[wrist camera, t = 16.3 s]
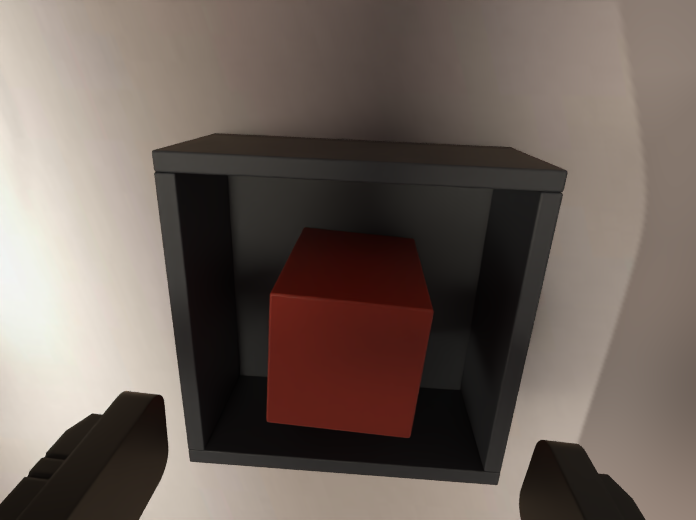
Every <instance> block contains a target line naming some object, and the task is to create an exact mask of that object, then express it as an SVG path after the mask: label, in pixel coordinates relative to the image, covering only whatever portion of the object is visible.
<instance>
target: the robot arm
mask: <svg viewBox="0 0 696 520" xmlns="http://www.w3.org/2000/svg"><path fill="white" fill-rule="evenodd" d="M167 458H168V438H167V427H166V416H165V405H164V399H163V397H162V396H161V395H156V394H147V393H139V392H130V391H124V392H122V393H121V394H120V395H119V396H118V397H117V398H116V399H115V400H114V402H113V403H112V404H111V405H110V407H109V408H108V409H107V410H106V411H105V413H104V414H103V415H100V414H91V415H89V416H88V417H86V418H85V419H83V420H82V421H80V422H79V423H77V424H76V425H74V426H73V427H71V428H70V429H68V430H67V431H65V432H64V434H63V435H62V436H61V437H60V438H59V439H58V440H57V441H56V443H55V444H54V445H53V446H52V447H51V448H50V449H49V450H48V451H47V453H46V456H45V457H44V458H41V459H40V460H39V461H38V463H37V464H36V465H35V466H34V467H33V468H32V469H31V470H30V472H29V475H28V477H24V478H23V479H22V480H21V482H20V483H19V484H18V485H17V486H16V487H15V488H14V489H13V490H12V492H11V493H10V494H9V495H8V496H7V497H6V498H5V499H4V501H3V502H2V503H1V504H0V520H139V518H140V517H141V515H142V513H143V511H144V509H145V507H146V506H147V504H148V502H149V500H150V498H151V496H152V495H153V493H154V491H155V489H156V487H157V486H158V484H159V482H160V480H161V478H162V475H163V473H164V470H165V467H166V463H167ZM519 509H520V517H521V520H645V518H644V517H643V515H642V513H641V512H640V510H639V508H638V507H637V505H636V504H635V502H634V500H633V499H632V498H631V497H630V496H629V495H628V494H627V493H626V492H625V491H624V490H623V489H622V488H621V487H620V486H619V485H618V484H617V483H616V482H615V481H614V480H613V479H612V478H611V477H610V476H609V475H607V474H598V473H597V471H596V469H595V467H594V466H593V464H592V462H591V460H590V459H589V457H588V455H587V453H586V452H585V450H584V449H583V448H582V446H580V445H579V444H574V443H565V442H556V441H547V440H540V441H539V442H538V443H537V444H536V446H535V449H534V452H533V455H532V458H531V461H530V464H529V467H528V470H527V473H526V476H525V479H524V482H523V485H522V488H521V491H520V498H519Z"/></svg>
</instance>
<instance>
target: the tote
mask: <svg viewBox="0 0 696 520" xmlns="http://www.w3.org/2000/svg"><path fill="white" fill-rule="evenodd" d="M152 156H153V164H154V170H155V171H156V172H155V173H154V175H155V183H156V192H157V200H158V208H159V216H160V224H161V232H162V240H163V248H164V256H165V264H166V272H167V280H168V288H169V296H170V304H171V312H172V320H173V328H174V336H175V344H176V352H177V360H178V368H179V376H180V384H181V392H182V400H183V408H184V417H185V425H186V433H187V441H188V448H189V457H190V461H191V462H202V463H215V464H228V465H241V466H254V467H267V468H280V469H294V470H307V471H320V472H333V473H346V474H359V475H372V476H385V477H398V478H411V479H425V480H438V481H451V482H464V483H477V484H490V485H498V481H499V476H500V471H501V467H502V462H503V458H504V453H505V449H506V445H507V440H508V436H509V431H510V427H511V422H512V418H513V413H514V409H515V405H516V400H517V396H518V391H519V387H520V382H521V378H522V373H523V369H524V365H525V360H526V356H527V351H528V347H529V342H530V338H531V334H532V329H533V325H534V320H535V316H536V311H537V307H538V302H539V298H540V294H541V289H542V285H543V280H544V276H545V271H546V267H547V262H548V258H549V254H550V249H551V245H552V240H553V236H554V231H555V227H556V222H557V218H558V214H559V209H560V205H561V200H562V196H563V194H562V193H561V192H563V190H564V186H565V182H566V178H567V171H566V170H564V169H562V168H559V167H557V166H555V165H552V164H550V163H547V162H545V161H543V160H540V159H538V158H535V157H533V156H531V155H528V154H526V153H523V152H521V151H519V150H516V149H514V148H512V147H493V146H472V145H450V144H429V143H408V142H386V141H365V140H344V139H323V138H301V137H280V136H259V135H238V134H216V133H215V134H211V135H208V136H204V137H200V138H197V139H193V140H189V141H186V142H182V143H178V144H175V145H171V146H167V147H164V148H160V149H156V150H153V151H152ZM305 227H306V228H316V229H325V230H335V231H344V232H354V233H363V234H373V235H382V236H392V237H401V238H411V239H414V240H415V244H416V248H417V252H418V255H419V259H420V263H421V266H422V270H423V274H424V278H425V281H426V285H427V289H428V293H429V296H430V300H431V304H432V307H433V311H434V313H433V319H432V324H431V329H430V335H429V340H428V345H427V351H426V356H425V362H424V367H423V372H422V378H421V383H420V388H419V394H418V399H417V404H416V410H415V415H414V421H413V426H412V431H411V436H410V438H403V437H394V436H385V435H376V434H368V433H359V432H350V431H341V430H332V429H324V428H315V427H306V426H297V425H288V424H280V423H271V422H267V419H266V413H267V377H268V340H269V304H270V293H271V291H272V289H273V287H274V285H275V283H276V281H277V279H278V277H279V275H280V273H281V271H282V269H283V267H284V266H285V264H286V262H287V260H288V258H289V256H290V254H291V252H292V250H293V248H294V246H295V244H296V242H297V240H298V238H299V236H300V234H301V232H302V230H303V228H305Z"/></svg>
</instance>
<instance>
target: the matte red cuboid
mask: <svg viewBox="0 0 696 520" xmlns="http://www.w3.org/2000/svg"><path fill="white" fill-rule="evenodd" d="M433 313H434V311H433V307H432V304H431V300H430V296H429V293H428V289H427V285H426V281H425V278H424V274H423V270H422V266H421V263H420V259H419V255H418V252H417V248H416V244H415V240H414V239H411V238H401V237H392V236H382V235H373V234H363V233H354V232H344V231H335V230H325V229H316V228H306V227H305V228H303V230H302V232H301V234H300V236H299V238H298V240H297V242H296V244H295V246H294V248H293V250H292V252H291V254H290V256H289V258H288V260H287V262H286V264H285V266H284V267H283V269H282V271H281V273H280V275H279V277H278V279H277V281H276V283H275V285H274V287H273V289H272V291H271V293H270V304H269V340H268V377H267V413H266V419H267V422H271V423H280V424H288V425H297V426H306V427H315V428H324V429H332V430H341V431H350V432H359V433H368V434H376V435H385V436H394V437H403V438H410V436H411V431H412V426H413V421H414V415H415V410H416V404H417V399H418V394H419V388H420V383H421V378H422V372H423V367H424V362H425V356H426V351H427V345H428V340H429V335H430V329H431V324H432V319H433Z"/></svg>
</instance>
